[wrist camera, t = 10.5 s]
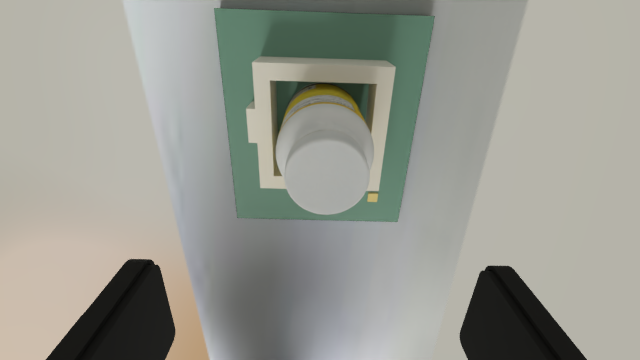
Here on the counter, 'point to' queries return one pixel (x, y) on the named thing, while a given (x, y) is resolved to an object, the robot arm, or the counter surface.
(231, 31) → the board
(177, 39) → the counter surface
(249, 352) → the counter surface
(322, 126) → the supplement bottle
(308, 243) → the counter surface
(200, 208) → the counter surface
